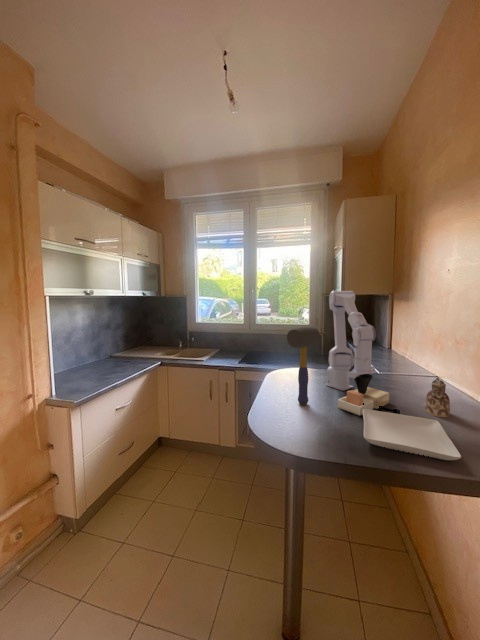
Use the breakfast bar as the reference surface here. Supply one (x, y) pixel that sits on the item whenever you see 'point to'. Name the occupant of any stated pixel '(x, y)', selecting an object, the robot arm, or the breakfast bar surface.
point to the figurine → (437, 400)
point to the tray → (353, 408)
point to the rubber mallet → (303, 355)
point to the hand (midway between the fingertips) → (361, 393)
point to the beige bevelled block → (376, 396)
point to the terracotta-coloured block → (355, 398)
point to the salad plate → (408, 434)
